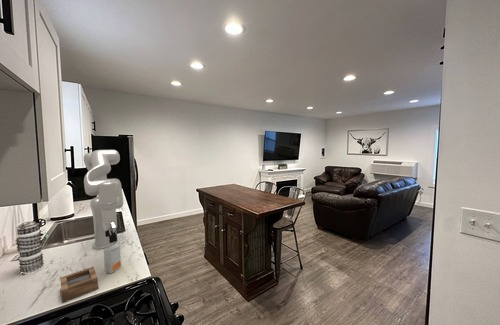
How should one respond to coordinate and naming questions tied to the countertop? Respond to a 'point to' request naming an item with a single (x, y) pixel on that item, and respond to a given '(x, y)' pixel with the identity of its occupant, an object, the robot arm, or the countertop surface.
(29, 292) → the countertop surface
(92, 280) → the brown wooden square frame
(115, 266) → the skincare box
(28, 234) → the decorative candle
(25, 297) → the countertop surface
